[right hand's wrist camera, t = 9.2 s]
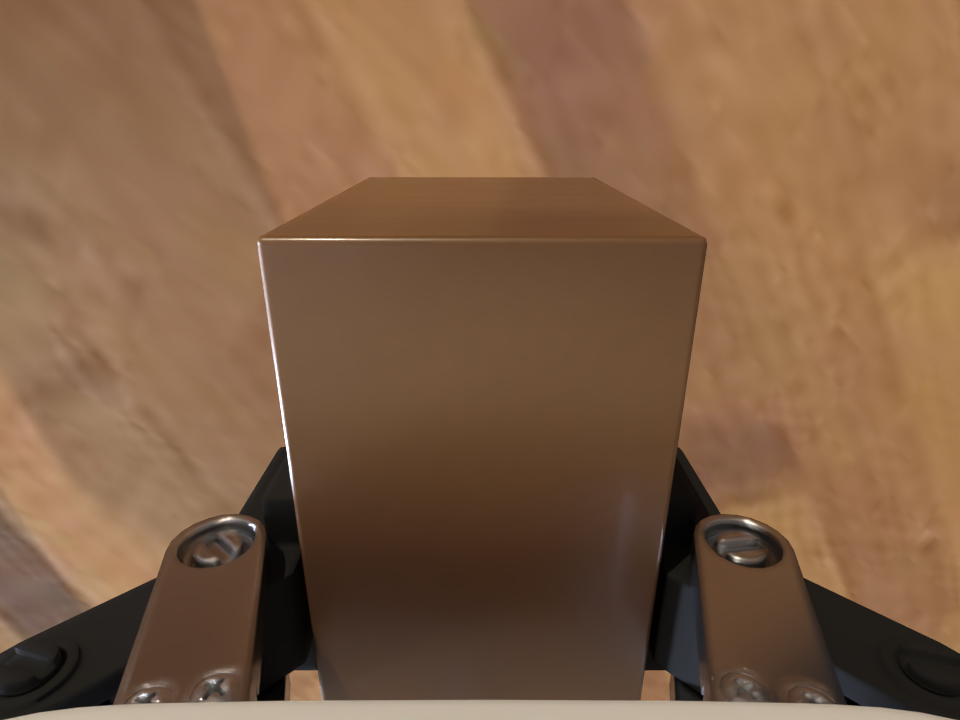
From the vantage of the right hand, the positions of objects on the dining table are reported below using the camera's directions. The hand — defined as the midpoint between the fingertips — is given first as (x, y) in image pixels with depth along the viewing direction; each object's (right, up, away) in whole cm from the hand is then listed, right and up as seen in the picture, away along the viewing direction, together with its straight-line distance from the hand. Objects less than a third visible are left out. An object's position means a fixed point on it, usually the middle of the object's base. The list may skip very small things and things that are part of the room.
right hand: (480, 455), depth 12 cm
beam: (0, -19, +10) cm, 21 cm away
